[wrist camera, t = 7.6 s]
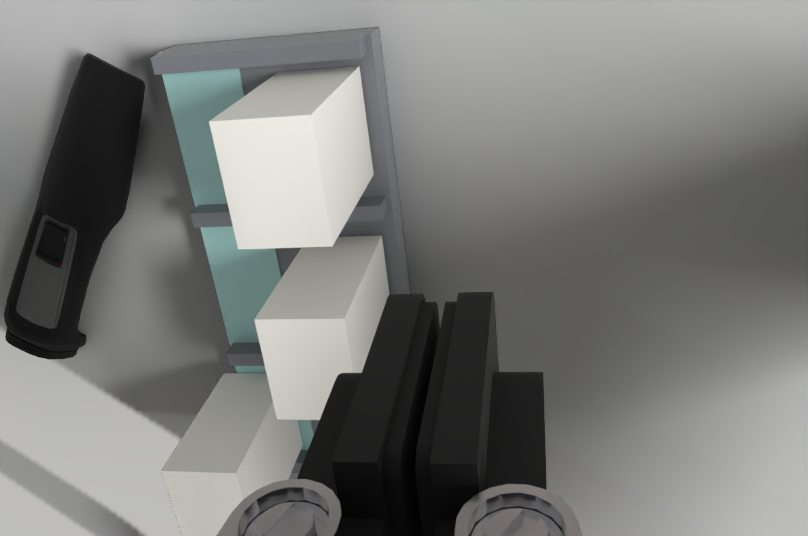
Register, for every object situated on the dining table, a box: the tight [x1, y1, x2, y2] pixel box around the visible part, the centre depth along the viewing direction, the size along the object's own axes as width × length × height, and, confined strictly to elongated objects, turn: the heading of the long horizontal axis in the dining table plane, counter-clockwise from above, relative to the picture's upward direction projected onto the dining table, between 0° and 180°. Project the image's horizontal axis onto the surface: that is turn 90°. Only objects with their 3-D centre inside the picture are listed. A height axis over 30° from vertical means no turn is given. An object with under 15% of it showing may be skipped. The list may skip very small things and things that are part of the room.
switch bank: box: [150, 27, 410, 473], centre depth 31 cm, size 8×19×2 cm, turn 6°
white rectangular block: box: [254, 235, 390, 420], centre depth 27 cm, size 3×4×6 cm
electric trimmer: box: [4, 53, 145, 359], centre depth 31 cm, size 4×16×3 cm, turn 154°
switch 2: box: [161, 373, 303, 536], centre depth 31 cm, size 3×4×6 cm
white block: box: [209, 66, 374, 249], centre depth 24 cm, size 3×4×6 cm
